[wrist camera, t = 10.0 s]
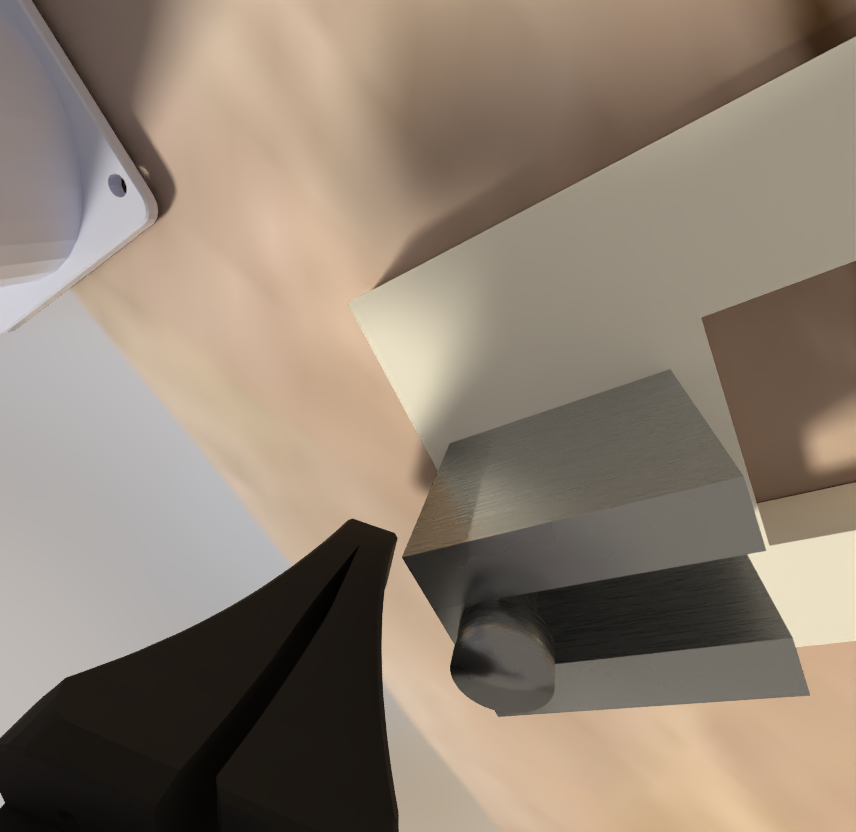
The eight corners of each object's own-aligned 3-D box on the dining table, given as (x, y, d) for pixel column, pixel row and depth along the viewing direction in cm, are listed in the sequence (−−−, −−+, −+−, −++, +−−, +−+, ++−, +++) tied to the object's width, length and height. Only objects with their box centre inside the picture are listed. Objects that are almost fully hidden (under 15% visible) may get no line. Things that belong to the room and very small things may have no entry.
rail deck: (370, 290, 11) (328, 312, 9) (1234, -163, 6) (1621, -365, 4) (546, 631, 15) (545, 705, 13) (1197, 539, 9) (1391, 641, 7)
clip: (449, 443, 11) (386, 593, 7) (670, 368, 9) (771, 516, 5) (513, 567, 12) (493, 762, 8) (721, 525, 10) (839, 753, 6)
